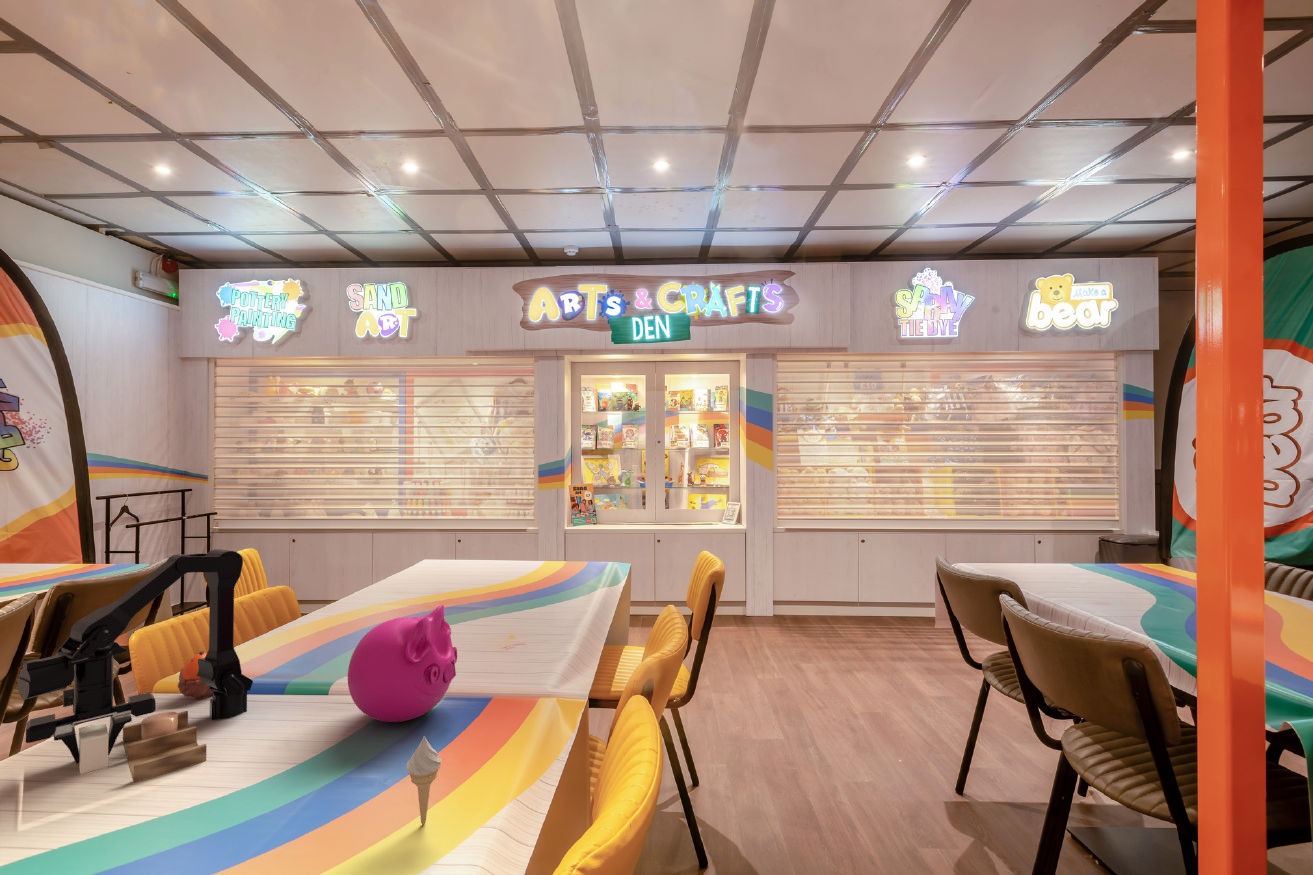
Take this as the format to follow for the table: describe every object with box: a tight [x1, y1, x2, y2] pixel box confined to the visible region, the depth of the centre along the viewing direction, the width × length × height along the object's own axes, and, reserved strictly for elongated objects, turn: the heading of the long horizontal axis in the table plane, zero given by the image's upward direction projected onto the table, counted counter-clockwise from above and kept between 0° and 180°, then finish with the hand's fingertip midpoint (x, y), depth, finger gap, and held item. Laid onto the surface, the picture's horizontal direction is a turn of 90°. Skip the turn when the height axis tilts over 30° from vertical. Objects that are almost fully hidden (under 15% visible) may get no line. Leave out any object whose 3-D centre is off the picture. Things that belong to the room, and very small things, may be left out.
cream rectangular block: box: [77, 721, 109, 775], centre depth 120 cm, size 4×8×7 cm, turn 46°
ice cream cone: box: [405, 735, 443, 826], centre depth 101 cm, size 6×6×15 cm
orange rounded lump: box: [177, 650, 215, 700], centre depth 154 cm, size 12×10×11 cm
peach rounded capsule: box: [140, 711, 179, 741], centre depth 128 cm, size 6×6×5 cm
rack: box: [122, 710, 207, 784], centre depth 124 cm, size 11×23×4 cm, turn 46°
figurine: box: [347, 604, 458, 723], centre depth 142 cm, size 23×24×25 cm
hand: (93, 758), depth 120 cm, fingers closed on cream rectangular block, 4 cm apart
